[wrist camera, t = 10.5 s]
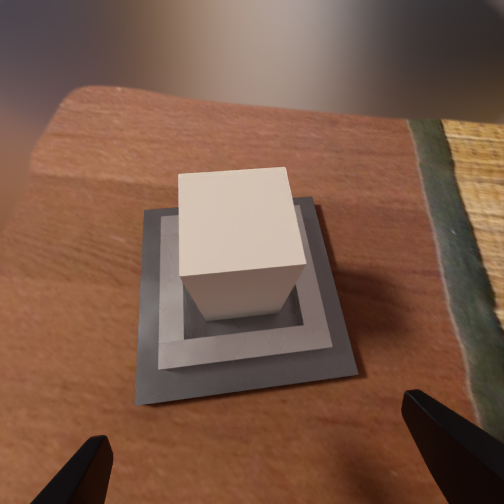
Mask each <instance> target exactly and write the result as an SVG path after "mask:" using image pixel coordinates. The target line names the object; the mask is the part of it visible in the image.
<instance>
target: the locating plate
mask: <svg viewBox="0 0 504 504" xmlns="http://www.w3.org/2000/svg"><path fill="white" fill-rule="evenodd" d="M292 200H293V204H294V209H295V213H296V218H297V223H298V227H299V232H300V236H301V241H302V245H303V250H304V255H305V259H306V266H305V268H304V269H303V271H302V273H301V275H300V276H299V278H298V280H297V282H296V283H295V285H294V287H293V289H292V290H291V292H290V294H289V296H288V297H287V299H286V301H285V303H284V304H283V306H282V308H281V310H280V311H279V313H276V314H267V315H258V316H249V317H240V318H231V319H222V320H214V321H206V320H205V318H204V317H203V315H202V313H201V312H200V310H199V308H198V307H197V305H196V303H195V302H194V300H193V298H192V297H191V295H190V293H189V292H188V290H187V288H186V287H185V285H184V283H183V282H182V280H181V278H180V277H179V207H176V208H163V209H151V210H144V226H143V246H142V266H141V287H140V307H139V328H138V348H137V369H136V389H135V406H137V405H144V404H151V403H159V402H166V401H173V400H180V399H187V398H194V397H202V396H209V395H216V394H223V393H230V392H237V391H245V390H252V389H259V388H266V387H273V386H280V385H288V384H295V383H302V382H309V381H316V380H324V379H331V378H338V377H345V376H352V375H359V374H358V370H357V367H356V363H355V359H354V355H353V351H352V347H351V344H350V340H349V336H348V332H347V328H346V324H345V321H344V317H343V313H342V309H341V305H340V302H339V298H338V294H337V290H336V286H335V282H334V279H333V275H332V271H331V267H330V263H329V259H328V256H327V252H326V248H325V244H324V240H323V236H322V233H321V229H320V225H319V221H318V217H317V213H316V210H315V206H314V202H313V198H312V197H300V198H292Z"/></svg>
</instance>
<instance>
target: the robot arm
mask: <svg viewBox="0 0 504 504" xmlns="http://www.w3.org/2000/svg"><path fill="white" fill-rule="evenodd" d="M401 412H402V416H403V419H404V421H405V423H406V425H407V427H408V429H409V431H410V433H411V435H412V437H413V439H414V441H415V443H416V445H417V447H418V449H419V451H420V453H421V455H422V457H423V459H424V461H425V463H426V465H427V467H428V469H429V471H430V473H431V474H432V476H433V478H434V480H435V481H436V483H437V485H438V486H439V488H440V490H441V491H442V493H443V495H444V496H445V498H446V500H447V501H448V503H449V504H504V443H503V442H501V441H500V440H498V439H497V438H495V437H493V436H492V435H490V434H489V433H487V432H486V431H484V430H482V429H481V428H479V427H478V426H476V425H475V424H473V423H471V422H470V421H468V420H467V419H465V418H464V417H462V416H460V415H459V414H457V413H456V412H454V411H453V410H451V409H449V408H448V407H446V406H445V405H443V404H442V403H440V402H438V401H437V400H435V399H434V398H432V397H430V396H429V395H427V394H426V393H424V392H423V391H421V390H418V389H414V390H407V391H405V393H404V397H403V402H402V408H401ZM112 465H113V452H112V449H111V446H110V443H109V440H108V438H107V436H106V435H99V436H93V437H90V438H89V439H88V440H87V441H86V442H85V443H84V444H83V445H82V446H81V447H80V449H79V450H78V451H77V452H76V453H75V454H74V455H73V456H72V458H71V459H70V460H69V461H68V462H67V463H66V464H65V465H64V466H63V468H62V469H61V470H60V471H59V472H58V473H57V474H56V475H55V476H54V478H53V479H52V480H51V481H50V482H49V483H48V484H47V485H46V486H45V488H44V489H43V490H42V491H41V492H40V493H39V494H38V495H37V496H36V498H35V499H34V500H33V501H32V502H31V503H30V504H104V503H105V498H106V493H107V488H108V484H109V479H110V474H111V470H112Z"/></svg>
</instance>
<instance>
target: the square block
mask: <svg viewBox="0 0 504 504" xmlns="http://www.w3.org/2000/svg"><path fill="white" fill-rule="evenodd" d="M178 184H179V277H180V278H181V280H182V282H183V283H184V285H185V287H186V288H187V290H188V292H189V293H190V295H191V297H192V298H193V300H194V302H195V303H196V305H197V307H198V308H199V310H200V312H201V313H202V315H203V317H204V318H205V320H206V321H214V320H222V319H231V318H240V317H249V316H258V315H267V314H276V313H279V311H280V310H281V308H282V306H283V304H284V303H285V301H286V299H287V297H288V296H289V294H290V292H291V290H292V289H293V287H294V285H295V283H296V282H297V280H298V278H299V276H300V275H301V273H302V271H303V269H304V268H305V266H306V259H305V255H304V250H303V245H302V241H301V236H300V232H299V227H298V223H297V218H296V213H295V209H294V204H293V200H292V195H291V190H290V186H289V181H288V177H287V172H286V167H277V168H262V169H247V170H232V171H217V172H202V173H187V174H178Z"/></svg>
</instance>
